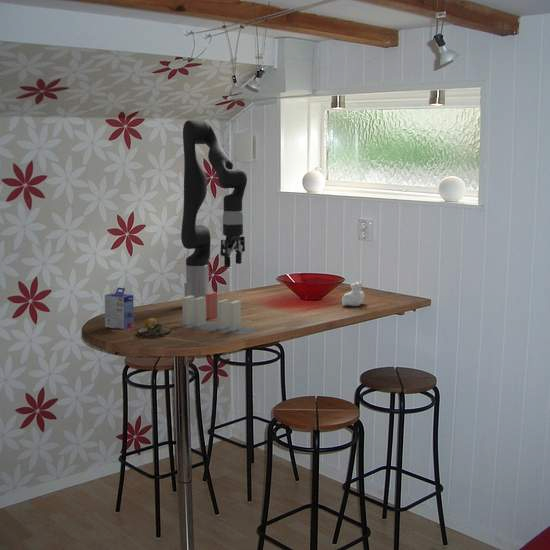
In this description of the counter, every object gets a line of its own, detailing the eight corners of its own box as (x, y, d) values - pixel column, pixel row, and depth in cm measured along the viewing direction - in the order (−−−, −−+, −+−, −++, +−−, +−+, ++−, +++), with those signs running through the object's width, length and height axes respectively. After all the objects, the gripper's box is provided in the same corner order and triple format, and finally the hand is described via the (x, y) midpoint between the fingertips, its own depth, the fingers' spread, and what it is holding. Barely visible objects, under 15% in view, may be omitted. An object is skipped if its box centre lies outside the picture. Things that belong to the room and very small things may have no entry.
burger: (174, 337, 263) (174, 316, 262) (140, 340, 259) (139, 318, 258) (167, 329, 274) (166, 309, 273) (134, 332, 270) (133, 311, 269)
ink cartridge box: (135, 327, 276) (134, 288, 274) (124, 330, 272) (123, 290, 269) (115, 324, 281) (113, 286, 279) (104, 327, 277) (103, 288, 274)
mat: (175, 327, 276) (175, 325, 276) (193, 321, 286) (193, 320, 286) (244, 336, 263) (244, 334, 263) (260, 329, 272) (260, 328, 272)
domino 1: (182, 324, 278) (182, 297, 277) (190, 321, 283) (190, 295, 281) (186, 325, 277) (186, 298, 276) (195, 322, 282) (194, 295, 280)
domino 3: (217, 329, 271) (217, 301, 270) (225, 326, 276) (224, 299, 274) (221, 329, 270) (221, 302, 269) (229, 326, 275) (229, 299, 273)
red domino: (206, 319, 289) (205, 294, 287) (213, 317, 293) (213, 291, 292) (209, 320, 288) (209, 294, 286) (217, 317, 293) (216, 292, 291)
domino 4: (229, 330, 269) (229, 302, 267) (237, 327, 273) (236, 300, 272) (233, 331, 268) (233, 303, 266) (241, 328, 272) (241, 300, 271)
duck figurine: (344, 312, 312) (356, 293, 305) (334, 299, 316) (346, 280, 309) (364, 308, 319) (377, 290, 313) (354, 295, 323) (366, 277, 316)
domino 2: (194, 326, 276) (193, 299, 274) (202, 323, 280) (201, 296, 279) (198, 326, 275) (197, 299, 273) (206, 323, 280) (205, 297, 278)
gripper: (233, 220, 294) (233, 261, 297) (214, 223, 281) (214, 267, 284) (250, 221, 290) (250, 263, 293) (232, 224, 278) (232, 268, 281)
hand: (233, 265), depth 289 cm, fingers open, 8 cm apart
